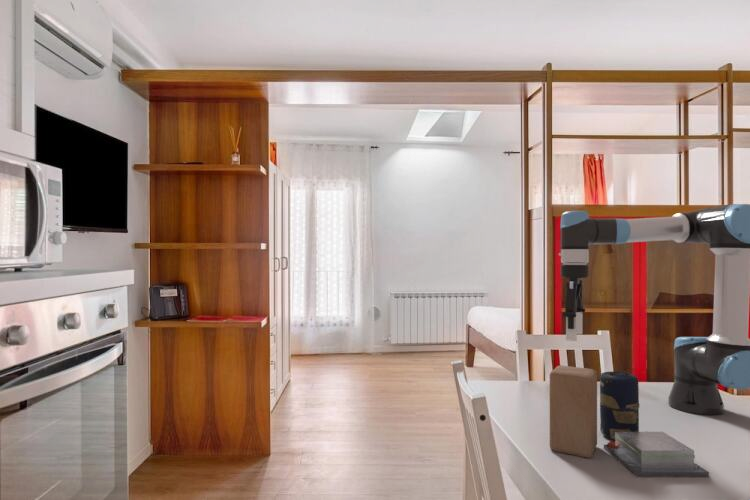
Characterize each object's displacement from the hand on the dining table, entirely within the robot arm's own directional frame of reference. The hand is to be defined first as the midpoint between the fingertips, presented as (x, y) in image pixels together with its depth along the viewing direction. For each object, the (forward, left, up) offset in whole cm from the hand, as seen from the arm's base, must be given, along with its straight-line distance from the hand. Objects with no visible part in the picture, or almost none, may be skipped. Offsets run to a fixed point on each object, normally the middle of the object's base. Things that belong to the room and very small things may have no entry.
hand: (574, 337), depth 143 cm
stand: (-8, +25, -26) cm, 37 cm away
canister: (-8, +9, -26) cm, 29 cm away
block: (+8, +18, -26) cm, 32 cm away
